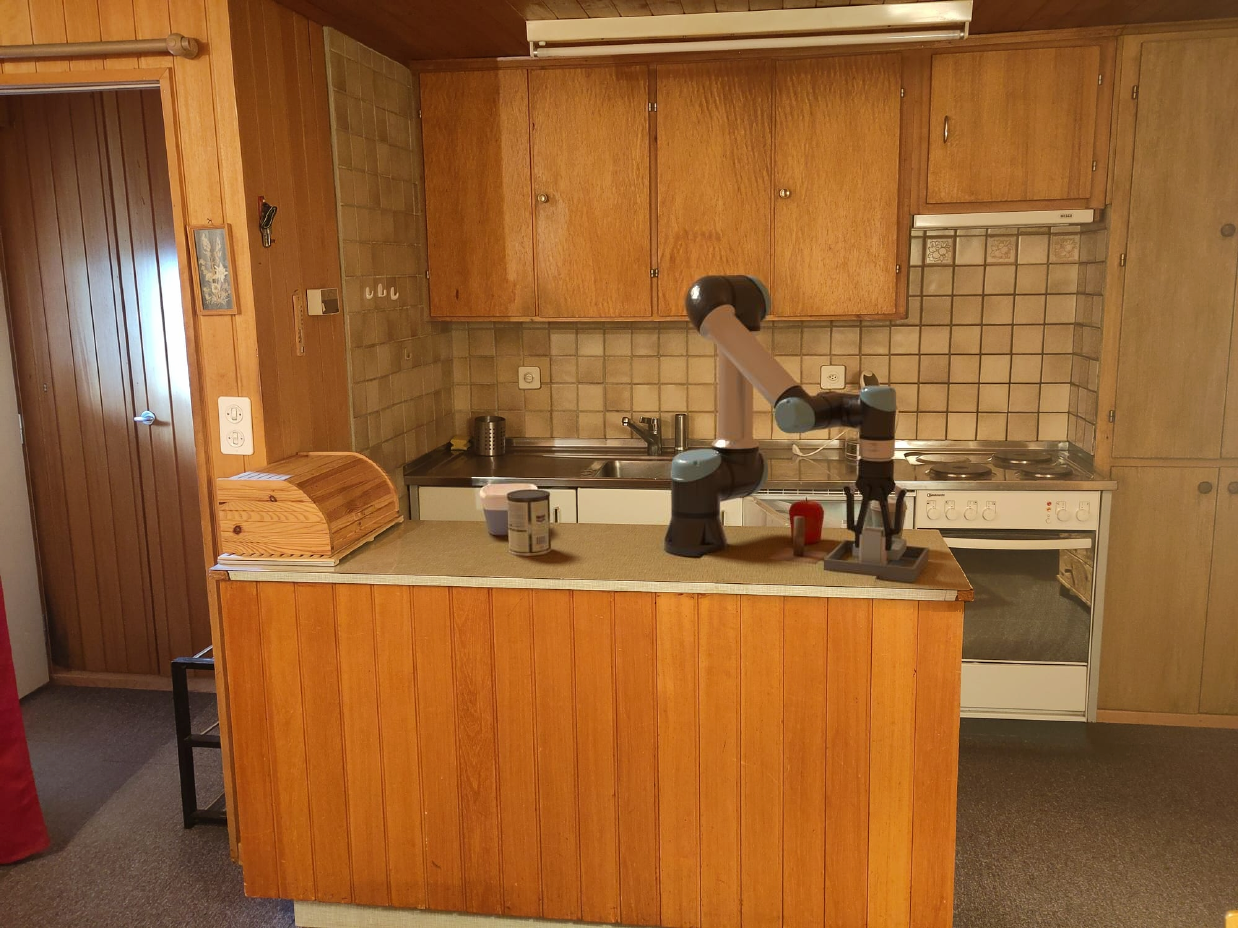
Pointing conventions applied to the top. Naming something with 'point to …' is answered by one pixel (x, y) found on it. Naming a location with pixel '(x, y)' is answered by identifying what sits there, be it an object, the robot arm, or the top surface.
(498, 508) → the plastic food container
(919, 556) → the tray
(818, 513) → the apple
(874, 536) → the ring
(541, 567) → the top surface
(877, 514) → the coffee cup
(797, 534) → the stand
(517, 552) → the coffee can
